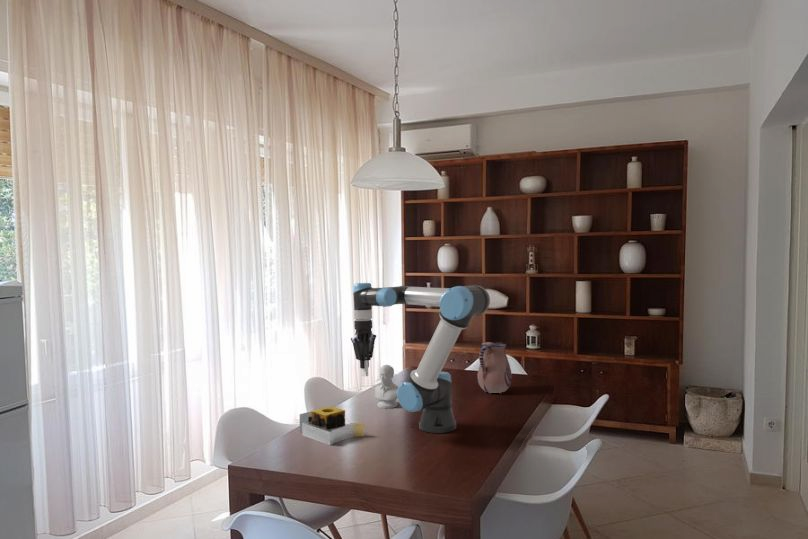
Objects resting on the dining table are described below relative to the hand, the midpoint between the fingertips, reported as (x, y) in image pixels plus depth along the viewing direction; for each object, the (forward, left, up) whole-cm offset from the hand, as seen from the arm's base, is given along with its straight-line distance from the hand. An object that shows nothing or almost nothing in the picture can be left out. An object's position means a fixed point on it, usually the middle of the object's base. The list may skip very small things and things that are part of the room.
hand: (364, 375), depth 234 cm
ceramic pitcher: (-9, -79, -21) cm, 82 cm away
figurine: (+14, -26, -21) cm, 36 cm away
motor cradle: (+1, +18, -20) cm, 28 cm away
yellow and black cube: (0, +20, -21) cm, 29 cm away
